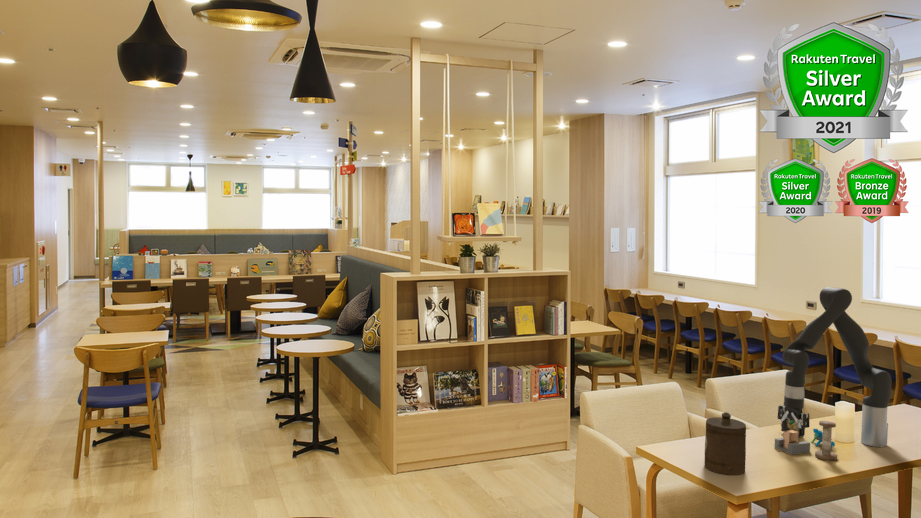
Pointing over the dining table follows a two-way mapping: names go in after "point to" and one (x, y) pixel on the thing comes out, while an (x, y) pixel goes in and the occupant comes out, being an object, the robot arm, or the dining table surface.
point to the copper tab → (789, 438)
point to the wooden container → (725, 445)
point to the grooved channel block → (793, 446)
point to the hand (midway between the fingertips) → (792, 433)
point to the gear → (819, 437)
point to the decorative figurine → (791, 425)
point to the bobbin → (826, 442)
